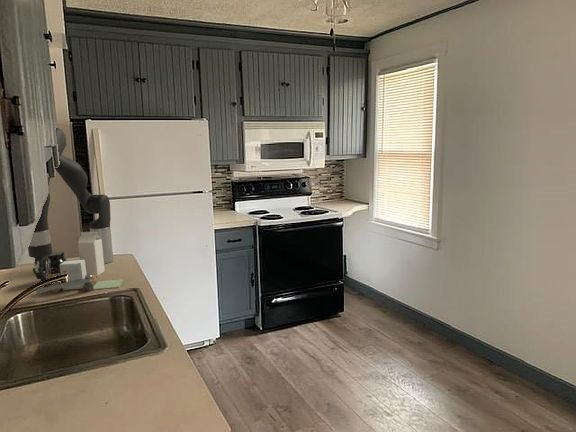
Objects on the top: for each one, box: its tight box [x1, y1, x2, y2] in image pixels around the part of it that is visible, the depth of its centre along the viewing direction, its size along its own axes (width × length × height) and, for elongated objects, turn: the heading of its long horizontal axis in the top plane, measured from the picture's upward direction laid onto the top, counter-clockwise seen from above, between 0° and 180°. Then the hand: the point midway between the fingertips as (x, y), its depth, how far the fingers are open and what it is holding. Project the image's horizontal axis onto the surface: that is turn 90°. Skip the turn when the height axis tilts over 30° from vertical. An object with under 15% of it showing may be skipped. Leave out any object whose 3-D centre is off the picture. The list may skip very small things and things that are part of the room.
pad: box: [93, 278, 123, 291], centre depth 173 cm, size 10×10×1 cm
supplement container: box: [39, 250, 68, 282], centre depth 180 cm, size 10×10×12 cm
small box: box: [60, 259, 87, 291], centre depth 171 cm, size 8×6×10 cm
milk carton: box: [77, 231, 105, 277], centre depth 188 cm, size 7×7×19 cm
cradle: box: [51, 275, 98, 294], centre depth 171 cm, size 15×15×3 cm
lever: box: [35, 275, 93, 294], centre depth 161 cm, size 3×19×3 cm, turn 129°
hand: (45, 287), depth 159 cm, fingers closed
